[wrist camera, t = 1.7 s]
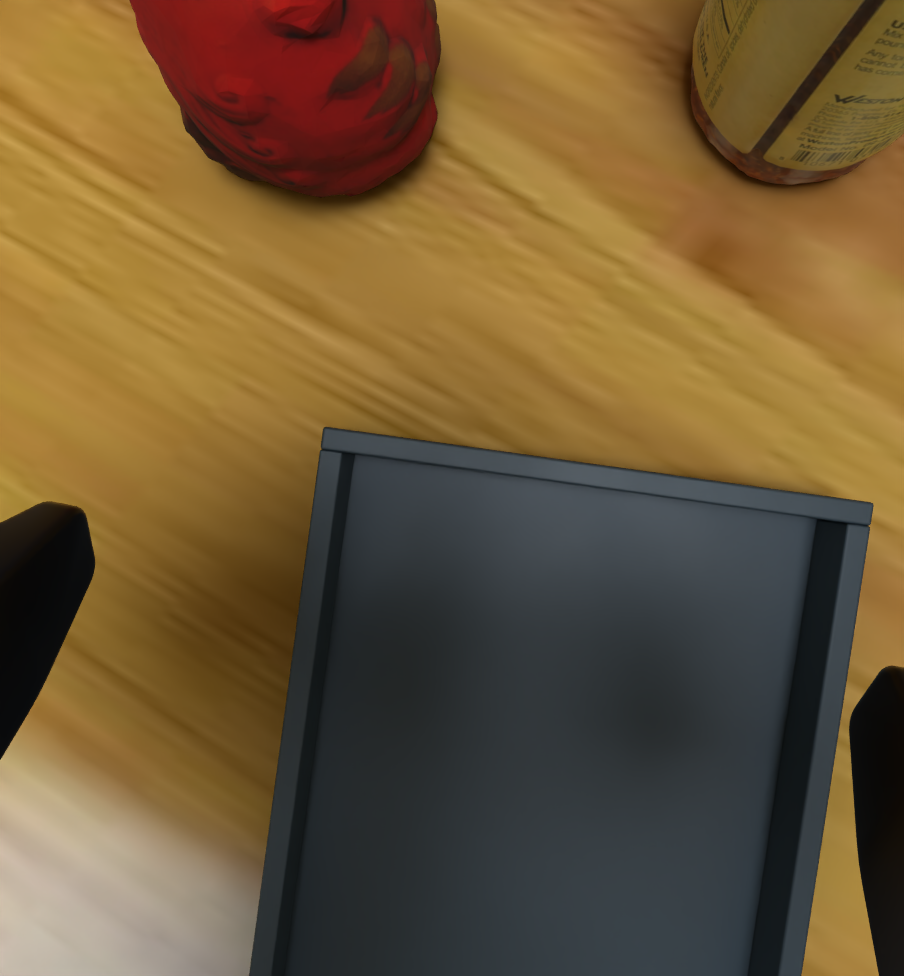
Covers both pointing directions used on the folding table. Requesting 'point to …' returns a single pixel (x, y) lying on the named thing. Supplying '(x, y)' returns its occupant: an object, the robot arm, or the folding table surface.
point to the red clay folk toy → (300, 85)
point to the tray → (555, 719)
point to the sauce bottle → (799, 84)
